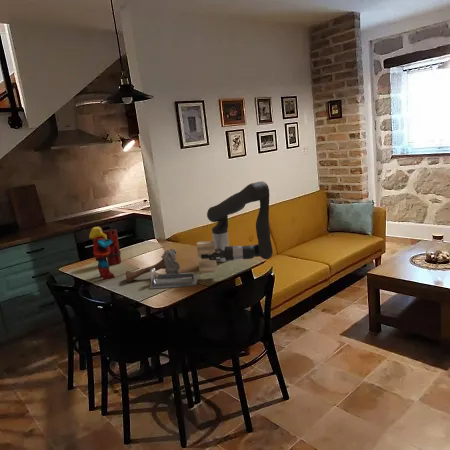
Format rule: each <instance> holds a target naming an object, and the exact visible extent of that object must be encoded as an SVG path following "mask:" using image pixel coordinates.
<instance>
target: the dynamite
mask: <svg viewBox="0 0 450 450" xmlns="http://www.w3.org/2000/svg"><path fill="white" fill-rule="evenodd" d="M106 219H107V221H109V218H106ZM107 223H108V226H110V224H109V222H107ZM117 230H118V229H117V228H113V229H112V228H111V229H110V228H108V229H105V230H102V232H103V233H104V234H106V235H107V240H108V239H109V237H110V236H111V235H113V234H116V236H117V239H116V241H115V242H114V243H116V244H117V246H116V247H112V246H109V247H110V249H111V251H110V253H109V255H108V256H107V258H106V259H107V262H108V266H117V265H119V264H121V263H122V258H121V254H122V253H121V251H120V250H121V249H120V245H119V235H118V231H117Z"/></svg>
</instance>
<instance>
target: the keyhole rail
mask: <svg viewBox="0 0 450 450" xmlns="http://www.w3.org/2000/svg"><path fill="white" fill-rule="evenodd" d="M156 272H157V271H155V268H152V269H151V270H150V272H149V274H150V281H151V283H150V284H151V285H150V286H149V289H150V290H154V289H171V288H184V287H185V288H187V287H188V288H189V287H197V284H198V281H199V278H200V275H199V274H195V273H194V272H193V271H191V272H178V273H175V274H166V273H163V274H158V275H157V273H156Z"/></svg>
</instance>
